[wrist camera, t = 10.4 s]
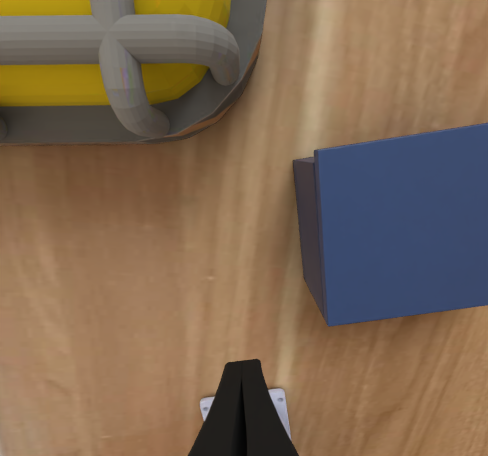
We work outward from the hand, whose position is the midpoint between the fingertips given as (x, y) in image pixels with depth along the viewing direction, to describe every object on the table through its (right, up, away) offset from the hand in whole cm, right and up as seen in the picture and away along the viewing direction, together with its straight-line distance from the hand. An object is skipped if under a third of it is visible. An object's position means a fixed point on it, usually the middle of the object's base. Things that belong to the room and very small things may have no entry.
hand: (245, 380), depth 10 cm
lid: (+11, +6, +3) cm, 13 cm away
